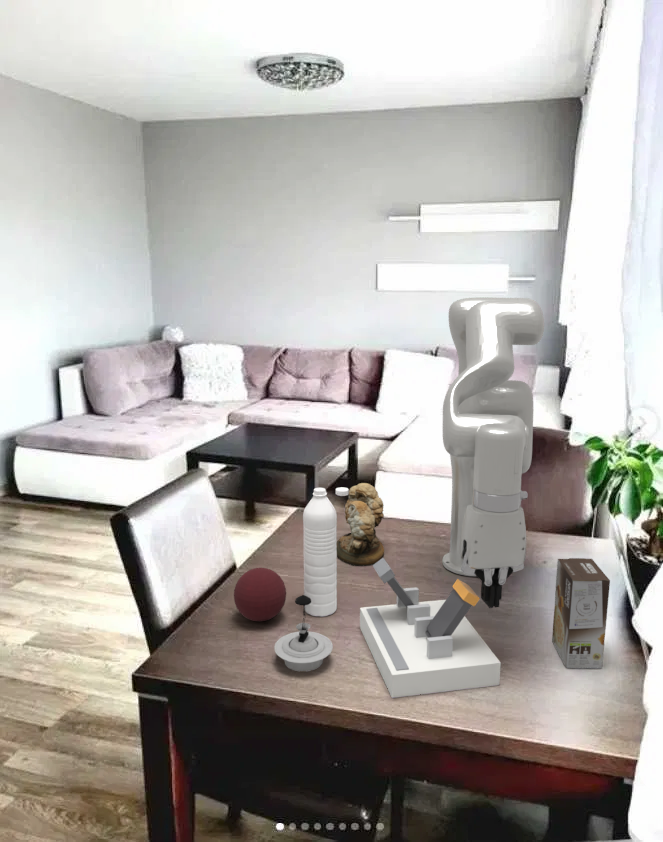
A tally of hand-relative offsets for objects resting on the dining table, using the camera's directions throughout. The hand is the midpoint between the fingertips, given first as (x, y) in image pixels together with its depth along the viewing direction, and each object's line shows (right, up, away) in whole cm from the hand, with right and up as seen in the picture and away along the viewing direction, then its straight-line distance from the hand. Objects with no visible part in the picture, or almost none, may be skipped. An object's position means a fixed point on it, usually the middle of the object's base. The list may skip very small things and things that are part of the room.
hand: (490, 603), depth 113 cm
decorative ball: (-40, -8, +17) cm, 45 cm away
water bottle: (-28, -7, +20) cm, 35 cm away
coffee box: (+16, -10, +5) cm, 19 cm away
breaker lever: (-10, -6, 0) cm, 11 cm away
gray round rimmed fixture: (-31, -11, +3) cm, 33 cm away
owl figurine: (-20, -1, +49) cm, 53 cm away
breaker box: (-10, -10, +5) cm, 15 cm away
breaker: (-12, -4, +10) cm, 16 cm away
